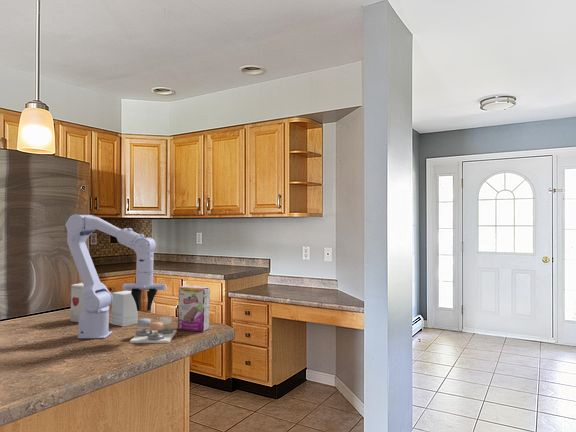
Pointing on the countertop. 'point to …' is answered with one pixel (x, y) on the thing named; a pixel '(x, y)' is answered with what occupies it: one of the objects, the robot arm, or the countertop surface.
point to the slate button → (143, 322)
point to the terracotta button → (156, 326)
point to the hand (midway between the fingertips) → (143, 310)
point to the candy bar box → (193, 308)
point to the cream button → (166, 320)
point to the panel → (154, 336)
